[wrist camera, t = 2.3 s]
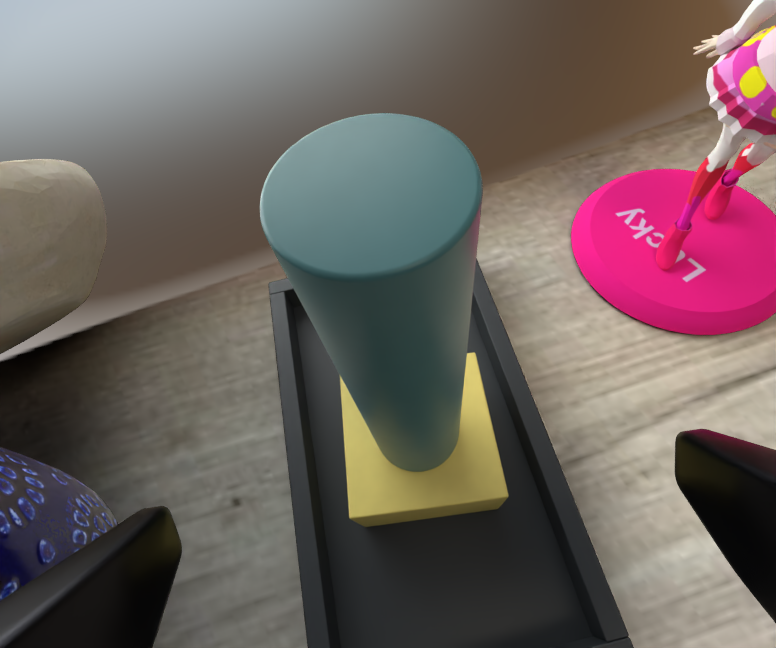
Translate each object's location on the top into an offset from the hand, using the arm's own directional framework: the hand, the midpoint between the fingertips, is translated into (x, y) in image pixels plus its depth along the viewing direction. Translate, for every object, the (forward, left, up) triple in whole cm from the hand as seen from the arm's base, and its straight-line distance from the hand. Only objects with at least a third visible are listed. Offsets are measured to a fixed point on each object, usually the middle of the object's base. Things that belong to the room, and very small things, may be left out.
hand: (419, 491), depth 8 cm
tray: (+3, 0, -10) cm, 11 cm away
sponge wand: (+3, 0, -10) cm, 10 cm away
